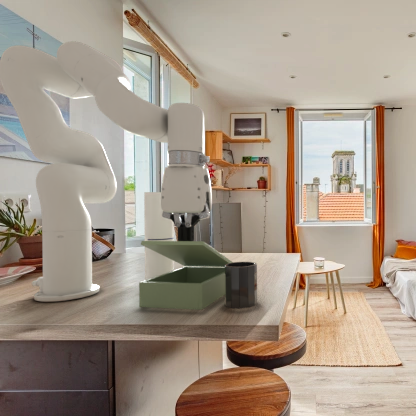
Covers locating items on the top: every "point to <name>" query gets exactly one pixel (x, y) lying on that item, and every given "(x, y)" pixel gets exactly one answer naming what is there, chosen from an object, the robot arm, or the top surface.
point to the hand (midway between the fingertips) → (185, 244)
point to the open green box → (183, 288)
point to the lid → (188, 253)
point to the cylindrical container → (156, 235)
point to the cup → (240, 284)
